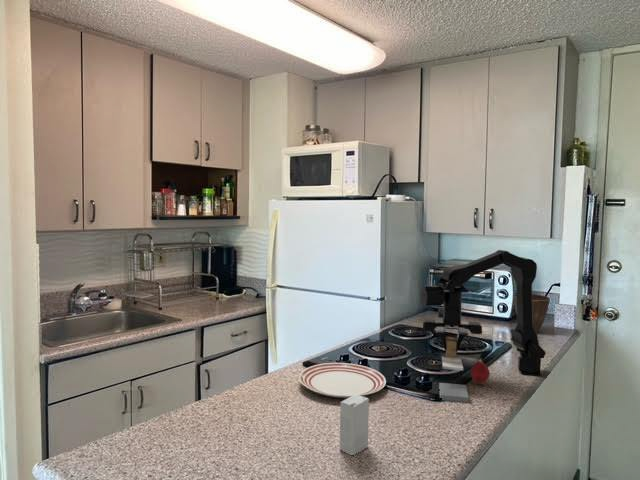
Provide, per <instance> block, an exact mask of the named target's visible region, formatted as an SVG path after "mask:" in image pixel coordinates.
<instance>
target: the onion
mask: <svg viewBox="0 0 640 480" xmlns="http://www.w3.org/2000/svg"><path fill="white" fill-rule="evenodd" d="M490 374H491V373H490V369H489V367H488V366H487V365H486V364H485V363H484V362H483V360H482V359H479V360H478V361H477V362H476V363H474V364H473V365H472V366H471V367H470V376H471V379H472V380H473V381H475V383H476V384H477V385H482V384H484V383H485V382H486V381H488V380H489V378H490Z"/></svg>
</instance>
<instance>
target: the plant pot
mask: <svg viewBox="0 0 640 480" xmlns="http://www.w3.org/2000/svg"><path fill="white" fill-rule="evenodd" d="M513 299H514V310H515V313H516V315H517V293H516V294H513ZM550 300H551V298H550V297H548V296H546V295H541V294H534V293H532V315H533V327H534V329H535V332H536V334H538V333H539V332H540V330H541V328H542V326H543V324H544V322H545V318H546V316H547V312H548V309H549V305H550Z"/></svg>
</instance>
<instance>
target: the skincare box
mask: <svg viewBox="0 0 640 480" xmlns="http://www.w3.org/2000/svg"><path fill="white" fill-rule="evenodd" d="M339 409H340V411H339V413H340V415H339V451H340V450H342V451H345V452H347V453H349V454H351V455H354V456H356V455H357V454H359V453H360V452H362V451H363V450H365V449H366V448H368V447H369V416H370V415H369V414H370V413H369V412H370V411H369V410H370V399H369V398H368V397H366V396H359V395H353V396H351V397H349V398H345V399H344V400H342V401H340V408H339ZM342 451H341V452H342ZM358 452H359V453H358ZM356 453H357V454H356ZM355 454H356V455H355ZM351 455H350V456H351Z"/></svg>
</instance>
